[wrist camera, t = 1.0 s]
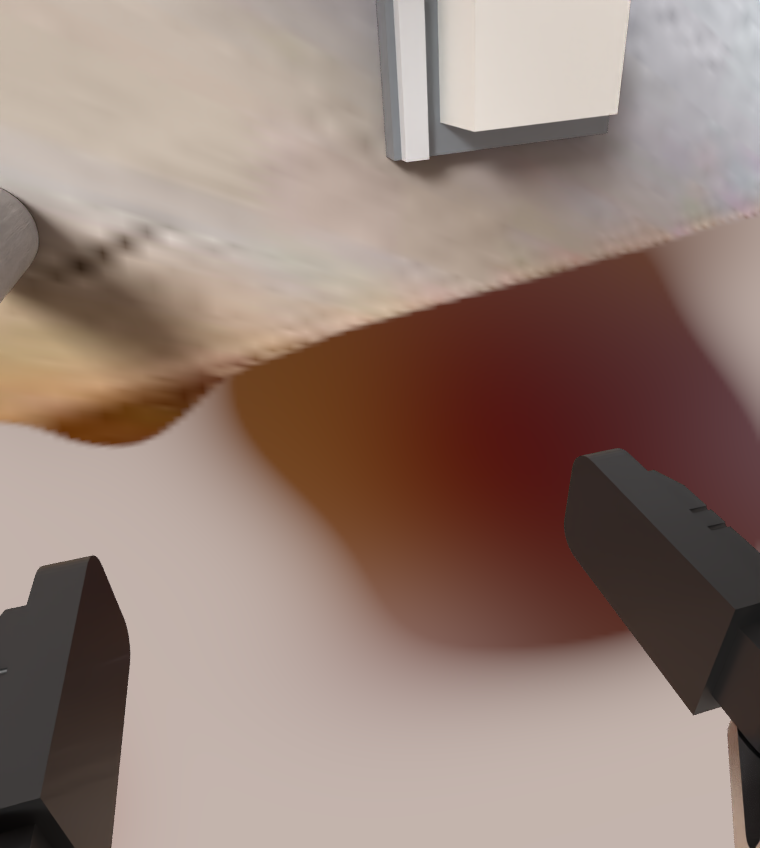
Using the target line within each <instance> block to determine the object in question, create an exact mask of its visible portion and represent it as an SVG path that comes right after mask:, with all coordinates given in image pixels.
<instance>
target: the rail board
mask: <svg viewBox="0 0 760 848" xmlns="http://www.w3.org/2000/svg"><path fill="white" fill-rule="evenodd" d="M630 2H631V0H376V7H377V22H378V37H379V52H380V66H381V81H382V96H383V111H384V126H385V141H386V155H387V157H388V158H390V159H392V160H394V161H397V160H403V161H405V162H412V161H419V160H427V159H429V156H436V155H443V154H451V153H459V152H467V151H474V150H482V149H490V148H497V147H505V146H513V145H520V144H528V143H536V142H544V141H551V140H559V139H567V138H574V137H582V136H590V135H597V134H605V133H607V131H608V122H609V115H614V114H617V113H618V104H619V96H620V87H621V79H622V70H623V62H624V53H625V45H626V36H627V28H628V19H629V11H630Z"/></svg>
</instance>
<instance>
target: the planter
mask: <svg viewBox="0 0 760 848" xmlns="http://www.w3.org/2000/svg"><path fill="white" fill-rule="evenodd" d="M38 245H39V236H38V230H37V227H36V224H35V222H34V220H33V218H32V216H31V214H30V213H29V211H28V210H27V209H26V207H25V206H24V205H23V204H22V203H21V202H20V201H19V200H18V199H17V198H15V197H14V196H13V195H11V194H10V193H8V192H7V191H5V190H3V189H1V188H0V303H1V301H2V300H3V299H4V298H5V296H6V295H7V294H8V293H9V291H10V290H11V289H12V288H13V286H14V285H15V284H16V283H17V281H18V280H19V279H20V277H21V276H22V275H23V274H24V272H25V271H26V270H27V269H28V267H29V266H30V265H31V263H32V262H33V260H34V258H35V256H36V253H37V251H38Z"/></svg>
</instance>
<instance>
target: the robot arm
mask: <svg viewBox="0 0 760 848" xmlns="http://www.w3.org/2000/svg"><path fill="white" fill-rule="evenodd" d="M564 529H565V536H566V539H567V543H568V545H569V548H570V549H571V552H572V554H573V555H574V556H575V558H576V559H577V561H578V562H579V563H580V565H581V566H582V567H583V569H584V570H585V571H586V573H587V574H588V575H589V577H590V578H591V579H592V581H593V582H594V583H595V585H596V586H597V587H598V589H599V590H600V591H601V593H602V594H603V595H604V597H605V598H606V599H607V601H608V602H609V603H610V604H611V606H612V607H613V609H614V610H615V611H616V613H617V614H618V615H619V617H620V618H621V619H622V621H623V622H624V623H625V624H626V626H627V627H628V629H629V630H630V631H631V633H632V634H633V635H634V637H635V638H636V639H637V641H638V642H639V643H640V645H641V646H642V647H643V649H644V650H645V651H646V653H647V654H648V655H649V657H650V658H651V659H652V661H653V662H654V663H655V665H656V666H657V667H658V669H659V670H660V671H661V673H662V674H663V675H664V677H665V678H666V679H667V681H668V682H669V683H670V685H671V686H672V687H673V689H674V690H675V691H676V693H677V694H678V695H679V697H680V698H681V699H682V701H683V702H684V703H685V705H686V706H687V707H688V709H689V710H690V711H691V713H692V714H693V715H696V714H699V713H702V712H705V711H709V710H712V709H715V708H719V707H722V709H723V710H724V711H725V712H726V714H727V715H728V716H729V717H730V719H731V721H730V723H729V727H728V735H727V736H728V749H729V750H728V752H729V766H730V782H731V797H732V811H733V812H732V813H733V828H734V843H735V848H760V553H759V552H758V551H757V550H756V549H755V548H754V547H752V546H751V545H750V544H749V543H748V542H747V541H746V540H745V539H744V538H742V537H741V536H740V535H739V534H738V533H737V532H736V531H735V530H734V529H732V528H731V527H727V526H726V525H725V521H723V520H722V519H721V518H720V517H719V516H718V515H717V514H716V513H714V512H713V511H712V510H707V508H706V505H705V504H704V503H703V502H702V501H701V500H700V499H699V498H698V497H696V496H695V495H694V494H693V493H692V492H691V491H690V490H689V489H688V488H686V487H685V486H684V485H682V484H680V483H678V482H676V481H674V480H673V479H671V478H669V477H666V476H665V475H662V474H660V473H658V472H657V471H655V470H652V471H647V470H646V469H645V468H644V467H643V466H642V465H641V464H640V463H639V462H637V461H636V460H635V459H634V458H633V457H632V456H631V455H630V454H629V453H628V452H626V451H625V450H623V449H620V448H618V449H612V450H607V451H602V452H597V453H592V454H587V455H583V456H579V457H578V458H576V460H575V461H574V464H573V468H572V474H571V481H570V487H569V494H568V500H567V507H566V513H565V520H564ZM129 666H130V644H129V636H128V630H127V626H126V623H125V620H124V617H123V615H122V613H121V610H120V608H119V605H118V603H117V601H116V598H115V596H114V593H113V591H112V588H111V586H110V584H109V581H108V579H107V576H106V574H105V572H104V569H103V567H102V565H101V563H100V561H99V559H98V558H97V557H96V556H89V557H83V558H79V559H74V560H69V561H65V562H59V563H55V564H50V565H45V566H42V567H40V568H39V569H38V571H37V573H36V575H35V578H34V582H33V585H32V588H31V592H30V595H29V598H28V602H27V605H26V606H21V607H16V608H11V609H7V610H5V611H4V612H3V613H2V614H1V616H0V848H111V844H112V834H113V825H114V815H115V805H116V795H117V785H118V775H119V765H120V755H121V745H122V736H123V726H124V715H125V705H126V695H127V686H128V675H129Z"/></svg>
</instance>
